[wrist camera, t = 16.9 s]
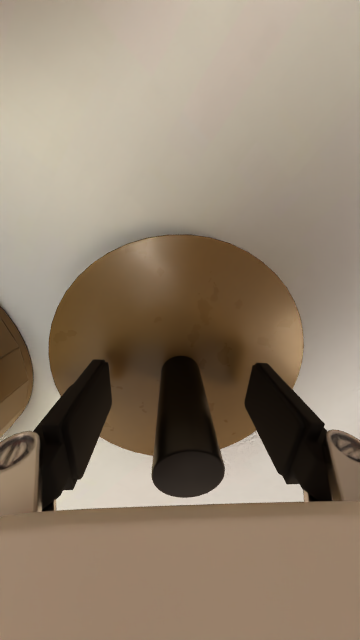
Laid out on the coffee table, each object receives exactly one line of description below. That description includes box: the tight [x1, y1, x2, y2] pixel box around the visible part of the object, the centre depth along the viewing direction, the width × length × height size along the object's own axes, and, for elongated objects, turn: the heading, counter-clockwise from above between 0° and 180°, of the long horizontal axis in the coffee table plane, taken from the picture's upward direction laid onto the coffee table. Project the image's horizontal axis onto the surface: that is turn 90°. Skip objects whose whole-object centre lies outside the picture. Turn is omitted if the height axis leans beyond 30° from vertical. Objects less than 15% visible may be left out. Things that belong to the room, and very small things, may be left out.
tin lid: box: [49, 235, 304, 498], centre depth 9 cm, size 16×16×7 cm
